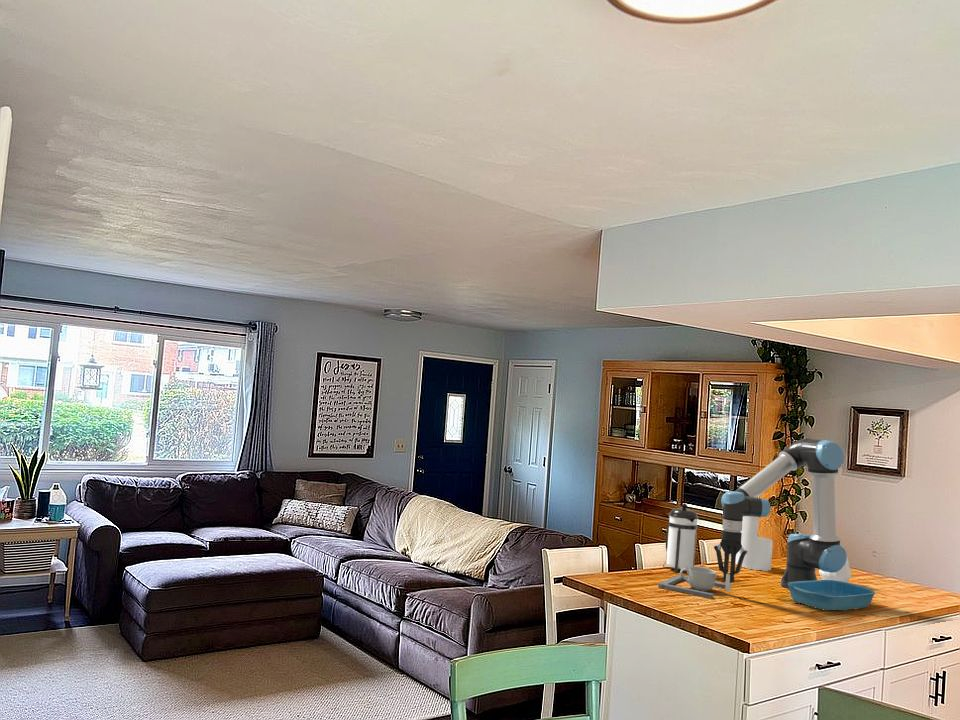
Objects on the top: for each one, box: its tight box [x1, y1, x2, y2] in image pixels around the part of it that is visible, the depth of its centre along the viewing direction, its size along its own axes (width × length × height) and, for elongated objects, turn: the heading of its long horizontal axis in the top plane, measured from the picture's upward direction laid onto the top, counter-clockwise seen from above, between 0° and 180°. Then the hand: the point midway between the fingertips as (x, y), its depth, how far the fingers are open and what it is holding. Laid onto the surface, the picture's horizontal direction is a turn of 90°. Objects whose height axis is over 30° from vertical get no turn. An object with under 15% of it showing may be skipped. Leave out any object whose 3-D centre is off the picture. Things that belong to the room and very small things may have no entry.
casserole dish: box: [788, 579, 876, 611], centre depth 310 cm, size 37×22×7 cm, turn 121°
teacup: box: [679, 565, 717, 592], centre depth 317 cm, size 14×11×8 cm
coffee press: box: [662, 502, 699, 573], centre depth 354 cm, size 17×16×30 cm
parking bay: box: [657, 574, 725, 599], centre depth 317 cm, size 21×26×2 cm
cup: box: [818, 556, 852, 583], centre depth 356 cm, size 13×13×14 cm
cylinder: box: [735, 516, 774, 572], centre depth 378 cm, size 17×17×28 cm
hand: (727, 590), depth 310 cm, fingers closed
